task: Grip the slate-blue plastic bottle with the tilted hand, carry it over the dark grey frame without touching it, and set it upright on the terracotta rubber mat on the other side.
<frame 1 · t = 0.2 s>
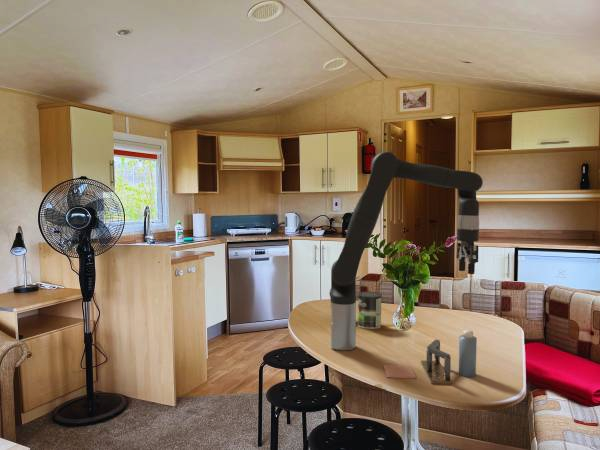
hand: (466, 272, 170), 29 cm above the table, tool pointing down, fingers open, 8 cm apart
beverage cup: (337, 318, 216), on the table
mat: (399, 371, 152), on the table
bottle: (467, 374, 150), on the table
dark grey frame: (435, 373, 150), on the table
coffee can: (369, 326, 203), on the table
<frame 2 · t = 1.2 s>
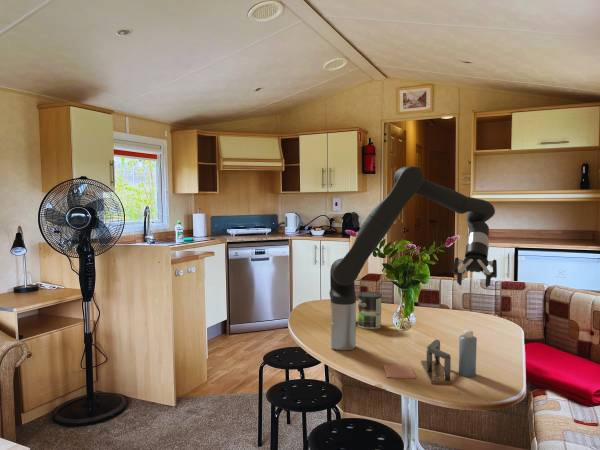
hand: (473, 285, 158), 27 cm above the table, tool tilted 45°, fingers open, 8 cm apart
nothing on the table moved.
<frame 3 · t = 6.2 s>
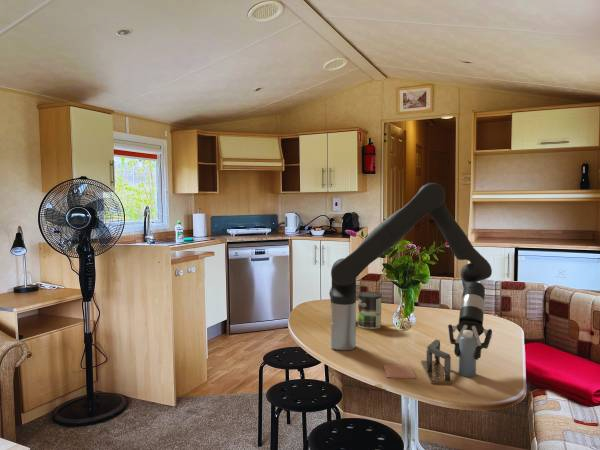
hand: (467, 357, 147), 6 cm above the table, tool tilted 45°, fingers closed on bottle, 5 cm apart
bottle: (467, 374, 150), on the table, touching gripper
everything else where it was.
when the fingers open (8 cm above the table, at t = 13.8 s): bottle drops 1 cm, resting on mat.
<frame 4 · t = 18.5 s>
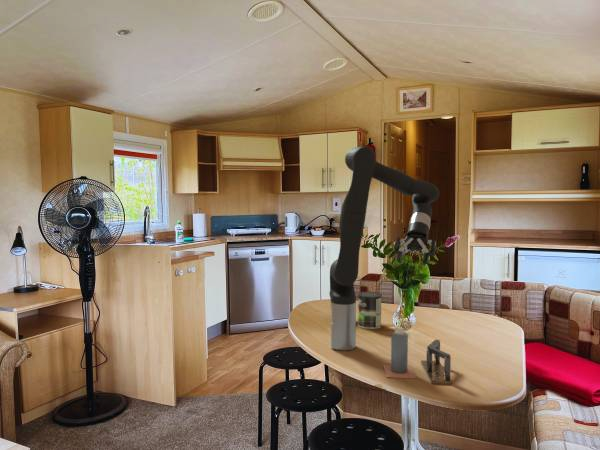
hand: (411, 262, 163), 34 cm above the table, tool tilted 45°, fingers open, 8 cm apart
bottle: (399, 370, 152), resting on mat
everything else where it was.
at the end: bottle inside the target area on the mat (0.1 cm from its centre), point 0.4 cm above the mat's base; bottle tilted 0°; bottle touching mat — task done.
